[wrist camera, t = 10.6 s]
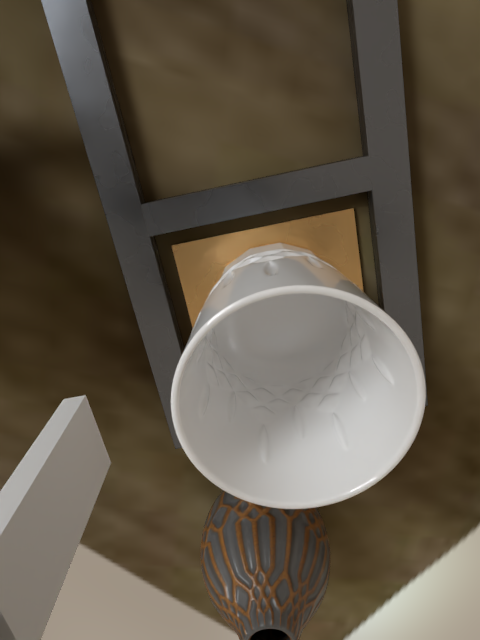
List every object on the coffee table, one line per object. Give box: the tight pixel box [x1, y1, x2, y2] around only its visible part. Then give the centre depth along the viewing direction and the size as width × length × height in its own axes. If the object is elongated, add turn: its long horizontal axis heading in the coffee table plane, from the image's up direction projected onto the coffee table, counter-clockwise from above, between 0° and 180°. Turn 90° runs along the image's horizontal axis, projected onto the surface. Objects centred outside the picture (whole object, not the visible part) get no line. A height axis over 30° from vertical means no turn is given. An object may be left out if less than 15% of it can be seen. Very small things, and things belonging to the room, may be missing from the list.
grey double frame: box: [41, 0, 428, 449], centre depth 21 cm, size 25×14×1 cm, turn 12°
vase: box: [201, 491, 330, 640], centre depth 24 cm, size 7×7×9 cm
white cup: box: [171, 242, 426, 509], centre depth 19 cm, size 8×8×10 cm
